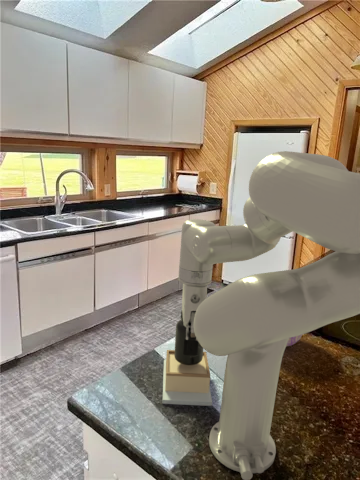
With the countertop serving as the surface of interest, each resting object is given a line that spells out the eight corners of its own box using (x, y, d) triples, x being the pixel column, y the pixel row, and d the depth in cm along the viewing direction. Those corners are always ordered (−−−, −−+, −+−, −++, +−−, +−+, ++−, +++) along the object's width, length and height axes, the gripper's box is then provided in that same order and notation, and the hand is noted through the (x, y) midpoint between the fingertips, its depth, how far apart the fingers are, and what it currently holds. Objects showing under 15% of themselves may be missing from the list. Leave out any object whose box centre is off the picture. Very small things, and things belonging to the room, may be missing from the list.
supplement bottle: (202, 352, 87) (207, 307, 85) (201, 368, 81) (206, 319, 78) (175, 349, 88) (178, 304, 85) (172, 364, 81) (175, 316, 79)
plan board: (211, 405, 78) (214, 383, 77) (162, 403, 78) (164, 381, 77) (204, 364, 94) (206, 345, 93) (163, 362, 93) (165, 343, 92)
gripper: (216, 289, 71) (208, 367, 75) (207, 264, 88) (201, 329, 92) (179, 287, 71) (173, 366, 75) (177, 262, 88) (173, 327, 92)
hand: (189, 345), depth 83 cm, fingers open, 7 cm apart
